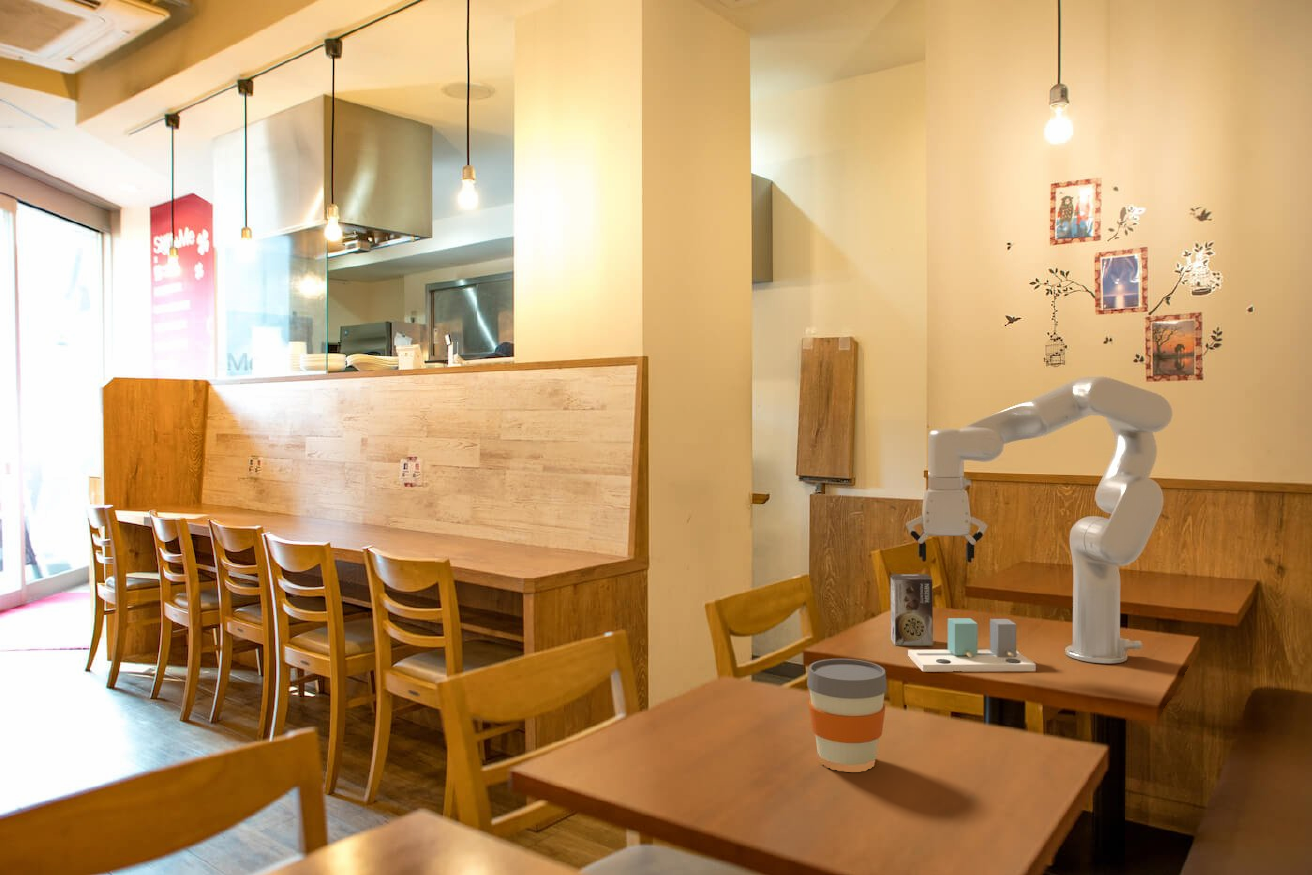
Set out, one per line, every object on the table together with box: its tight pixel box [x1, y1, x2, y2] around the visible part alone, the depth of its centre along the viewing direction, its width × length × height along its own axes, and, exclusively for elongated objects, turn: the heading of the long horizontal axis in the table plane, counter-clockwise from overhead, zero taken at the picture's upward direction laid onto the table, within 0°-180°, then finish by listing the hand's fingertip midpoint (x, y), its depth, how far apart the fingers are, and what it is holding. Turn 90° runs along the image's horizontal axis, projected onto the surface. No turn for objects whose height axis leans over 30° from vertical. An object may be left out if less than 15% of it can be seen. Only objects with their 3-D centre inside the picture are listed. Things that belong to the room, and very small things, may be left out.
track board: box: [907, 618, 1037, 673], centre depth 199 cm, size 24×12×9 cm, turn 89°
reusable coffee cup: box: [806, 658, 888, 765], centre depth 145 cm, size 13×13×15 cm
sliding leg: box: [947, 617, 979, 657], centre depth 200 cm, size 5×8×7 cm, turn 179°
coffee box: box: [890, 573, 934, 647], centre depth 217 cm, size 9×6×16 cm
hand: (946, 561), depth 202 cm, fingers open, 9 cm apart
